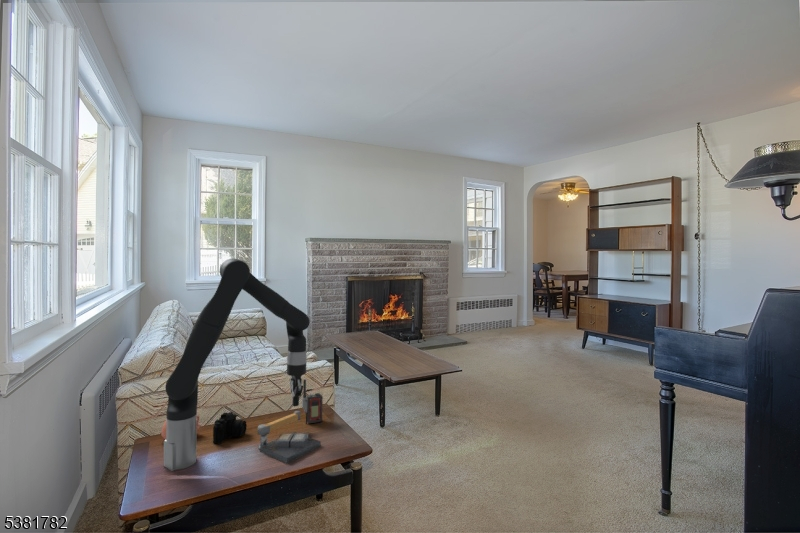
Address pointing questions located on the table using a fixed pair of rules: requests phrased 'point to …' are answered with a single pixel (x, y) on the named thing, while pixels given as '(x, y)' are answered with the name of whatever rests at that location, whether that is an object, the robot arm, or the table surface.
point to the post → (262, 440)
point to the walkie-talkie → (312, 406)
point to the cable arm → (278, 423)
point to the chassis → (290, 446)
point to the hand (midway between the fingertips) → (295, 405)
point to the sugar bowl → (166, 428)
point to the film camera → (228, 427)
